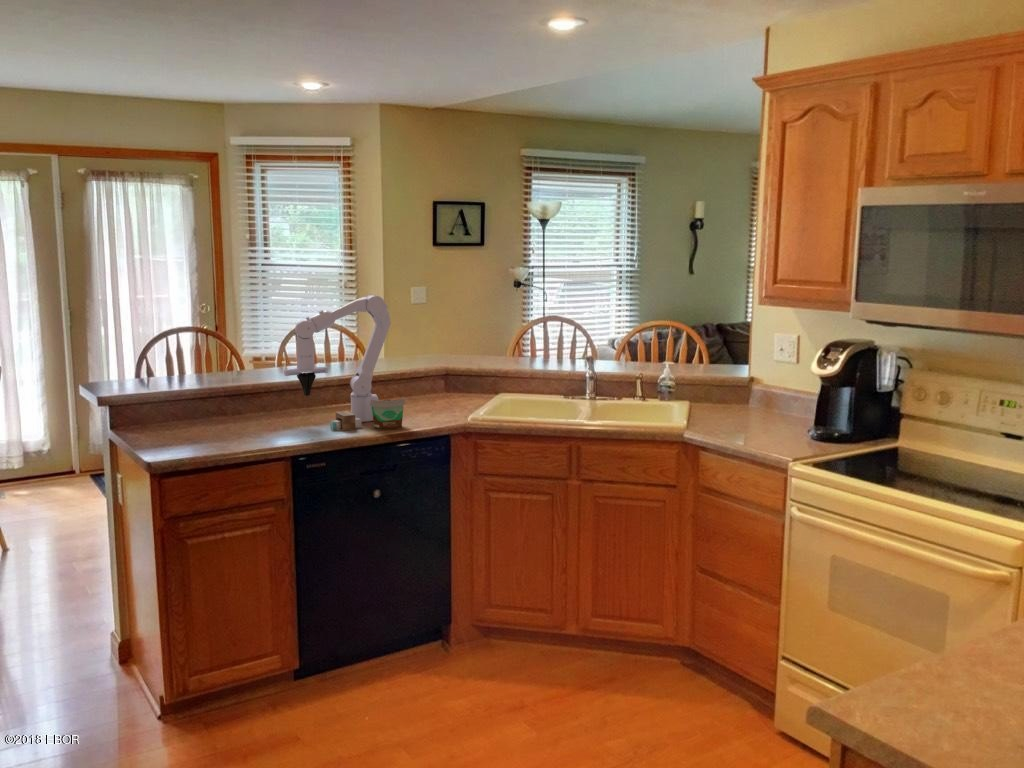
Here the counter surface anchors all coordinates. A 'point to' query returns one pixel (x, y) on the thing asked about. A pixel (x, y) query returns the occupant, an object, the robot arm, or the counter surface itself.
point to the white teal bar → (338, 424)
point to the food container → (387, 414)
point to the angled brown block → (346, 420)
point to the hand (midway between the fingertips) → (307, 395)
